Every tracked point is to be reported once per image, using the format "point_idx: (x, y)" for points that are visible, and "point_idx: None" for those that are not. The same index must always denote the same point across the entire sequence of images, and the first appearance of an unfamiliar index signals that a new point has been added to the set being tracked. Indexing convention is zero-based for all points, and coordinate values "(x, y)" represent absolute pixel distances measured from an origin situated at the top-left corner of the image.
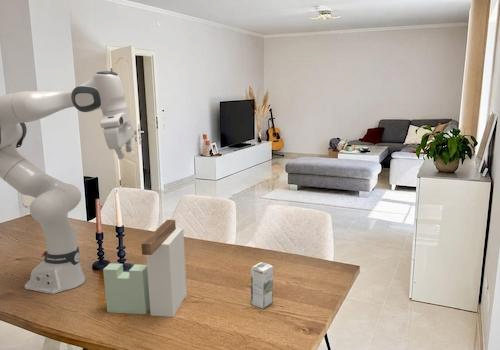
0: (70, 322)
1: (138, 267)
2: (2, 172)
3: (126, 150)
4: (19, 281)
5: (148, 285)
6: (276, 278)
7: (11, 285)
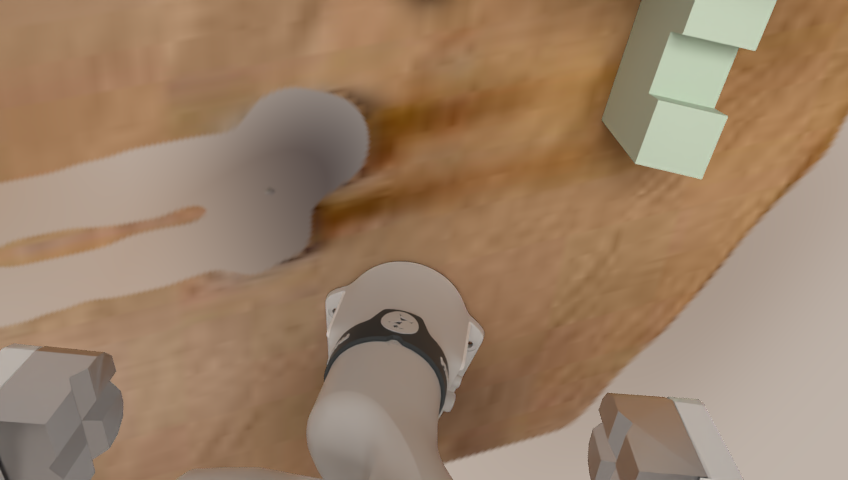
0: (690, 234)
1: (730, 6)
2: None
3: (99, 449)
4: None
5: None
6: None
7: None
